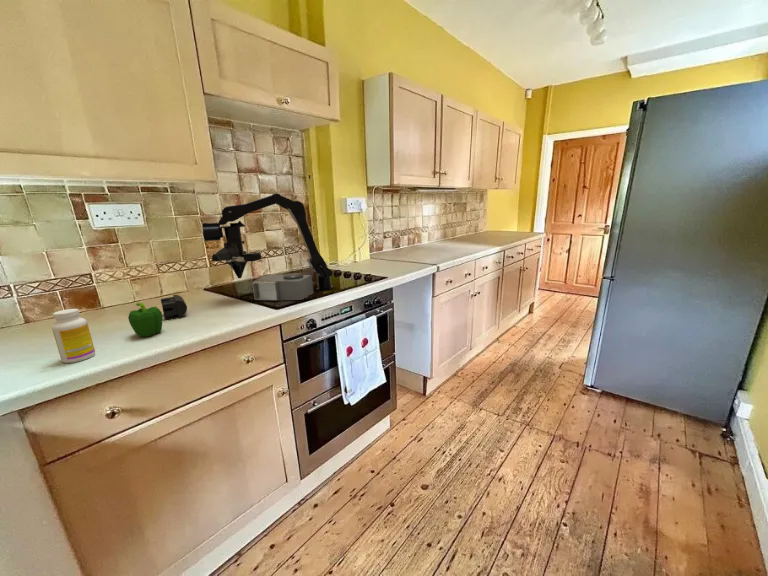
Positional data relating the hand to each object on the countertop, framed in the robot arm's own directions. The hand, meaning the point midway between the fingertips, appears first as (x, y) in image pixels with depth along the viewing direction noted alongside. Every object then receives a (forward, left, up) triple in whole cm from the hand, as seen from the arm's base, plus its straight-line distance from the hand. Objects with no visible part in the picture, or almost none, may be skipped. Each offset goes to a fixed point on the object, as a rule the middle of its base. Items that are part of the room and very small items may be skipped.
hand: (239, 278), depth 133 cm
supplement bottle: (+54, -10, -10) cm, 56 cm away
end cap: (+20, -13, -10) cm, 26 cm away
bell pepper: (+37, -6, -10) cm, 39 cm away
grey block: (-8, +15, -9) cm, 19 cm away
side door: (0, +11, -9) cm, 14 cm away
